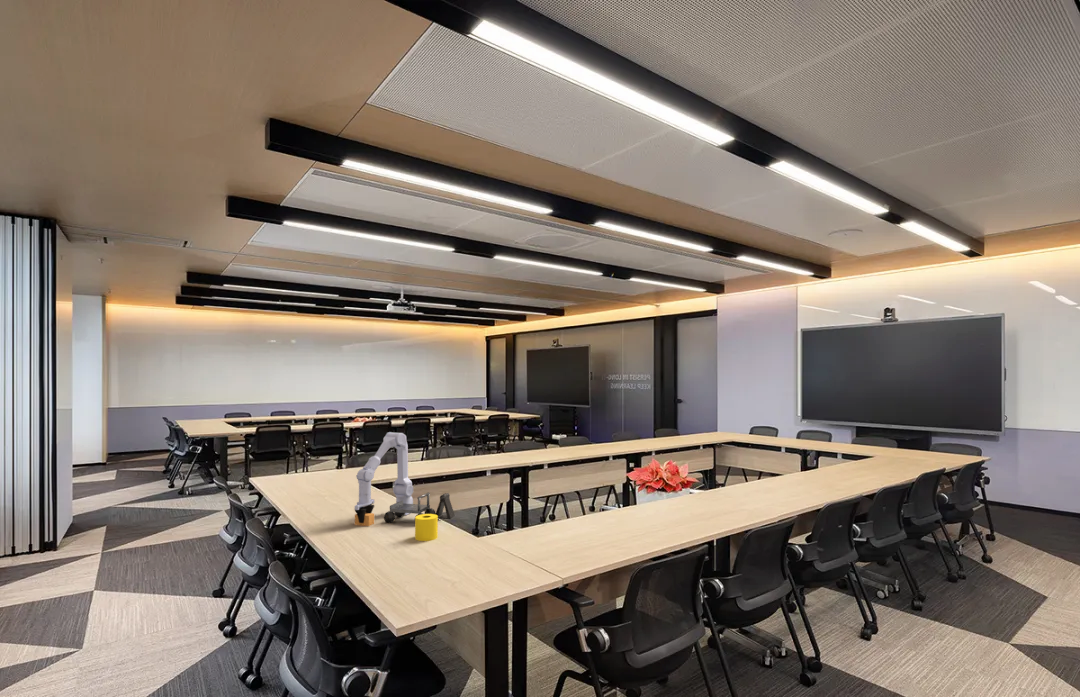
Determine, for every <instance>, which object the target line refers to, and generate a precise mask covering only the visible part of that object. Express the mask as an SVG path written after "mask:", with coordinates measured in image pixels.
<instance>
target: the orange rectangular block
mask: <svg viewBox="0 0 1080 697" xmlns="http://www.w3.org/2000/svg"><path fill="white" fill-rule="evenodd" d="M372 525H375V513H365V518H364V523H359V519H358V516H357V513H355V514H354V526H363V527H364V526H365V527H370V526H372Z"/></svg>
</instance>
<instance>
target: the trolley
mask: <svg viewBox="0 0 1080 697" xmlns="http://www.w3.org/2000/svg"><path fill="white" fill-rule="evenodd" d="M430 493H431V492H426V493H424V494H422V495H419V496H417V503H413V504H404V503H403V501H399V502H397V503H396V502H395V503H392V504H391V505H389V510H388V511H386V512H385V513H384V514H383V519H384V520H383V521H384V522H386V523H388V524H391V523H393V522H394V521H395V520H396V517H397V518H403V517H404V516H406V515H405V513H410V514H414V515H415V514H416V515H415V517H416V516H418V515H422V514H435V515H436V510H435V509H433V508H432V507H431V505H430ZM423 498H426V504H421V499H423ZM423 512H424V513H423ZM394 513H395V514H394ZM415 517H414V518H415Z"/></svg>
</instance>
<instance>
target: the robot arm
mask: <svg viewBox="0 0 1080 697" xmlns="http://www.w3.org/2000/svg"><path fill="white" fill-rule="evenodd" d="M382 440H383V442H382V443H381V444H380V446H379V448H378V450H377V451H376V452H375V454H374V455H372V456H371V457H369V458H368V461H367V462H366V463H365V465H363V467H362V468H361V469H359V470H358V471H357V474H356V476H355V478H356V479H357V483H358V501H357V502H356V505H354V512H355V514H357V516H358V519H359V523H364V518H365V513H372V512H373V510H374V508H375V499H372V489H371V488H372V480H373V479H374V476H375V472H376V471H377V469H378V467H379V466H380V464H381V459H382V458H383V457H384V456H385V454H386V453H387V452H388V450H389V449H390V448H395V449H396V450H397V454H396V456H397V457H396V459H397V461H396V462H397V464H396V466H397V478H396V479H395V480H394V485H393V489H392V491H393V494H394V495H395V497H396V498H395V499H396V500H395V503H397V502H399V501H403V503H404V504H414V499H413V496H412V495H413V493H414V486H413V482H412V480H411V479H410V478H409V456H408V455H409V450H408V448H409V446H408V442H407V435H406V434H404V433H403V432H392V431H389V432H386V434H385V436H384V437H383V439H382ZM394 514H395V513H394ZM410 514H411V513H405V515H404V516H408V515H410Z"/></svg>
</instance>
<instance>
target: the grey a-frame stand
mask: <svg viewBox="0 0 1080 697" xmlns="http://www.w3.org/2000/svg"><path fill="white" fill-rule="evenodd" d="M444 510H445V514H443V512H444ZM435 513H436V515H437V516H438V519H439V520H440V519H441V520H442V519H443V520H451V519H453V518H454V517H455V516H456V514H455V512H454V508H453V506H452V502H451V500H450V493H449V492H444V493H442V494H441V495H440V496H439V503H438V505H437V509H436V510H435Z"/></svg>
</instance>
